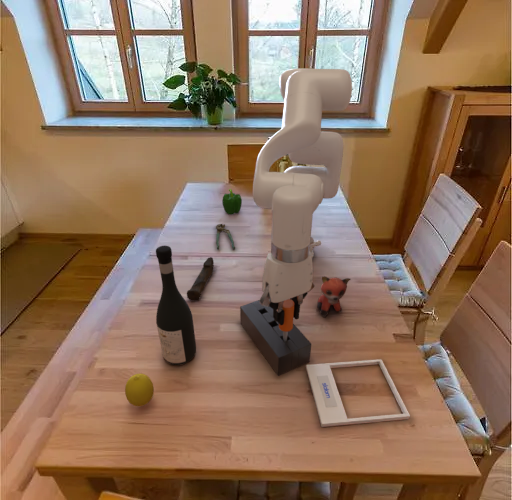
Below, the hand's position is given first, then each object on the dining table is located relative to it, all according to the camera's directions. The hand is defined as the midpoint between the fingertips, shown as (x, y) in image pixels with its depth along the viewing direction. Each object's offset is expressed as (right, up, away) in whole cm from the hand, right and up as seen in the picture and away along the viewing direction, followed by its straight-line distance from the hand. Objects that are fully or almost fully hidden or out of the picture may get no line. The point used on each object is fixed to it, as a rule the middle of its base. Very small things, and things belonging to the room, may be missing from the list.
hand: (286, 317), depth 79 cm
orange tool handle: (0, -10, +6) cm, 12 cm away
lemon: (-31, -17, -5) cm, 35 cm away
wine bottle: (-25, -10, +7) cm, 28 cm away
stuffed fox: (+14, -1, +22) cm, 26 cm away
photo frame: (+14, -16, -2) cm, 21 cm away
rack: (-3, -8, +10) cm, 13 cm away
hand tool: (-24, +5, +32) cm, 40 cm away
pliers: (-19, +20, +56) cm, 62 cm away
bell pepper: (-17, +31, +75) cm, 83 cm away
